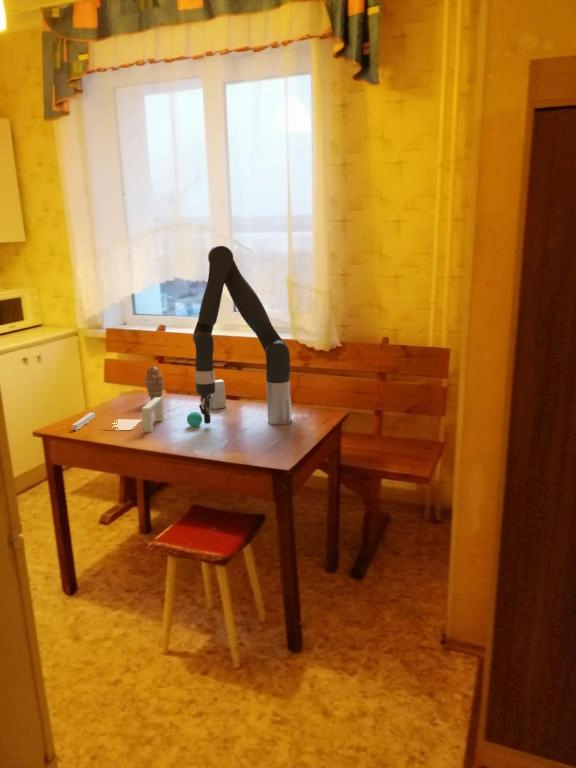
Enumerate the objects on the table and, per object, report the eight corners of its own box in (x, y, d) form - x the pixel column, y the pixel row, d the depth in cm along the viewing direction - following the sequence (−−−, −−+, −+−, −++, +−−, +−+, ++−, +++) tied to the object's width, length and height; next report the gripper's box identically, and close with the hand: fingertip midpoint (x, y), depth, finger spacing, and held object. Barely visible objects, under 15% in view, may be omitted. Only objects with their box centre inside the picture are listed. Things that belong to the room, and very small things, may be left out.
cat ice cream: (161, 406, 267) (158, 367, 262) (144, 406, 268) (140, 367, 263) (167, 400, 276) (164, 362, 271) (151, 400, 276) (147, 362, 272)
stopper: (95, 418, 253) (94, 412, 253) (77, 430, 238) (76, 425, 237) (90, 418, 254) (90, 412, 253) (72, 430, 238) (72, 424, 238)
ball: (204, 424, 242) (203, 410, 240) (200, 429, 236) (199, 414, 234) (190, 423, 243) (188, 409, 241) (185, 428, 237) (184, 414, 235)
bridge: (164, 419, 249) (162, 397, 246) (151, 432, 234) (149, 408, 232) (157, 419, 249) (155, 397, 247) (144, 431, 235) (141, 408, 232)
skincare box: (223, 404, 267) (222, 379, 264) (226, 407, 263) (224, 381, 260) (210, 406, 265) (208, 380, 261) (213, 409, 261) (211, 382, 258)
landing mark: (142, 420, 249) (142, 419, 249) (130, 430, 237) (130, 430, 236) (112, 419, 251) (112, 419, 251) (99, 430, 238) (99, 429, 238)
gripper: (210, 385, 226) (212, 428, 231) (218, 376, 239) (220, 418, 244) (191, 385, 227) (193, 428, 232) (200, 376, 240) (202, 417, 244)
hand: (207, 422), depth 238 cm, fingers closed
